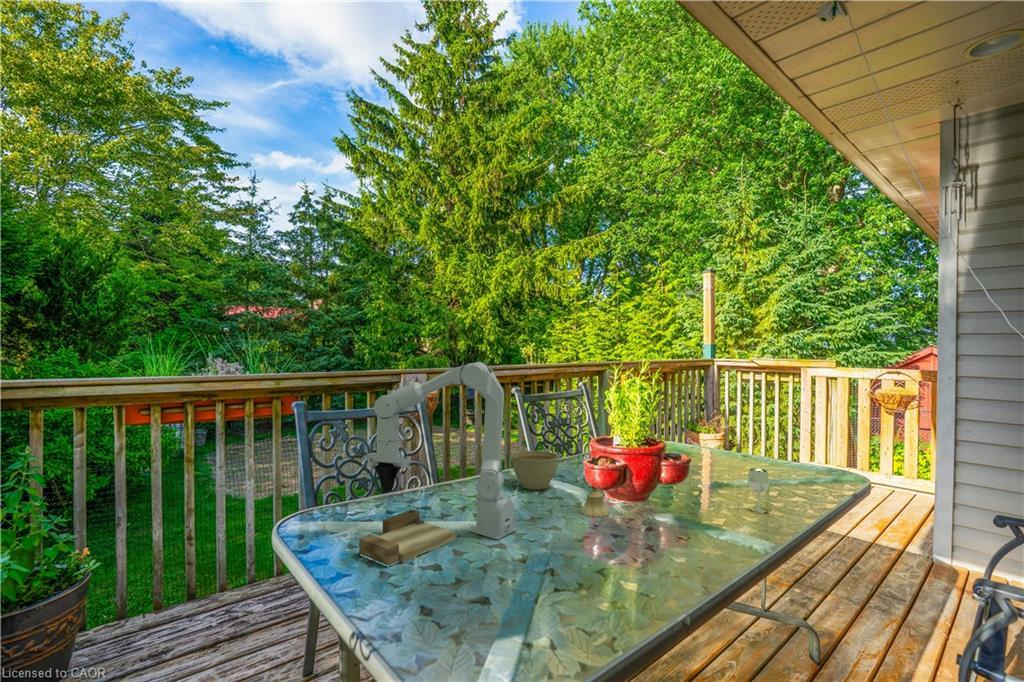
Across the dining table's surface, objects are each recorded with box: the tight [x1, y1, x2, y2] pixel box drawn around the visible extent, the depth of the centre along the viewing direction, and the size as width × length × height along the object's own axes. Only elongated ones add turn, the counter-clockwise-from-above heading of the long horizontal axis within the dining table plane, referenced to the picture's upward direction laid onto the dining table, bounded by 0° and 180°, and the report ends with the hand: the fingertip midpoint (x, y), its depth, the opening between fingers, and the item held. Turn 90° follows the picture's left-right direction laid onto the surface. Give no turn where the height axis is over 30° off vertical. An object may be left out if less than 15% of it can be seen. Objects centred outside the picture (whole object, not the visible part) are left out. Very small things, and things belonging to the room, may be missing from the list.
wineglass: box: [747, 467, 770, 512], centre depth 147 cm, size 6×6×12 cm
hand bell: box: [580, 457, 610, 518], centre depth 144 cm, size 8×8×16 cm
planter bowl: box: [511, 450, 559, 490], centre depth 171 cm, size 16×16×11 cm
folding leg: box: [381, 509, 421, 535], centre depth 128 cm, size 3×10×4 cm, turn 146°
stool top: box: [358, 519, 457, 565], centre depth 118 cm, size 13×20×4 cm, turn 144°
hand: (387, 491), depth 131 cm, fingers closed
